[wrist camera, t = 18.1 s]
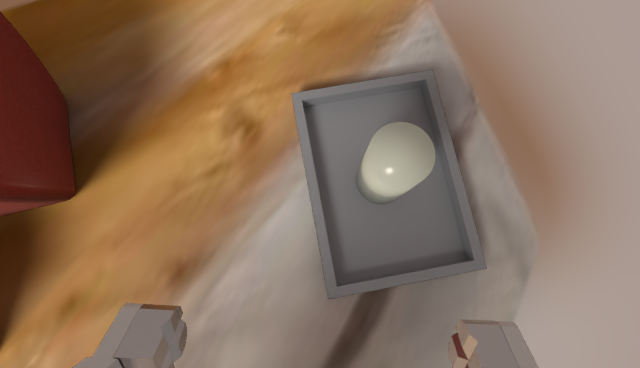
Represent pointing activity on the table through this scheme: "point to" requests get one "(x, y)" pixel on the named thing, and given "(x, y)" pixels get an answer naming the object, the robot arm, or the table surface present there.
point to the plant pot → (31, 130)
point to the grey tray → (393, 218)
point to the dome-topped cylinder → (395, 162)
